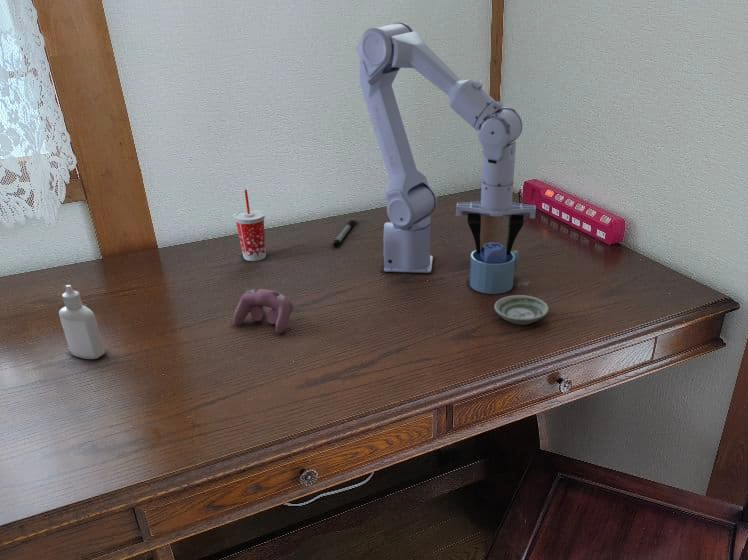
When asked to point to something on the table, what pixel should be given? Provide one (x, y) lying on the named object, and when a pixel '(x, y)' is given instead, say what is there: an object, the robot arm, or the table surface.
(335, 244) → the pen
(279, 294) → the video game controller
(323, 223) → the table surface
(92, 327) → the eye dropper bottle
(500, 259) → the decorative dice
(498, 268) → the mug
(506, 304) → the saucer
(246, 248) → the beverage cup
